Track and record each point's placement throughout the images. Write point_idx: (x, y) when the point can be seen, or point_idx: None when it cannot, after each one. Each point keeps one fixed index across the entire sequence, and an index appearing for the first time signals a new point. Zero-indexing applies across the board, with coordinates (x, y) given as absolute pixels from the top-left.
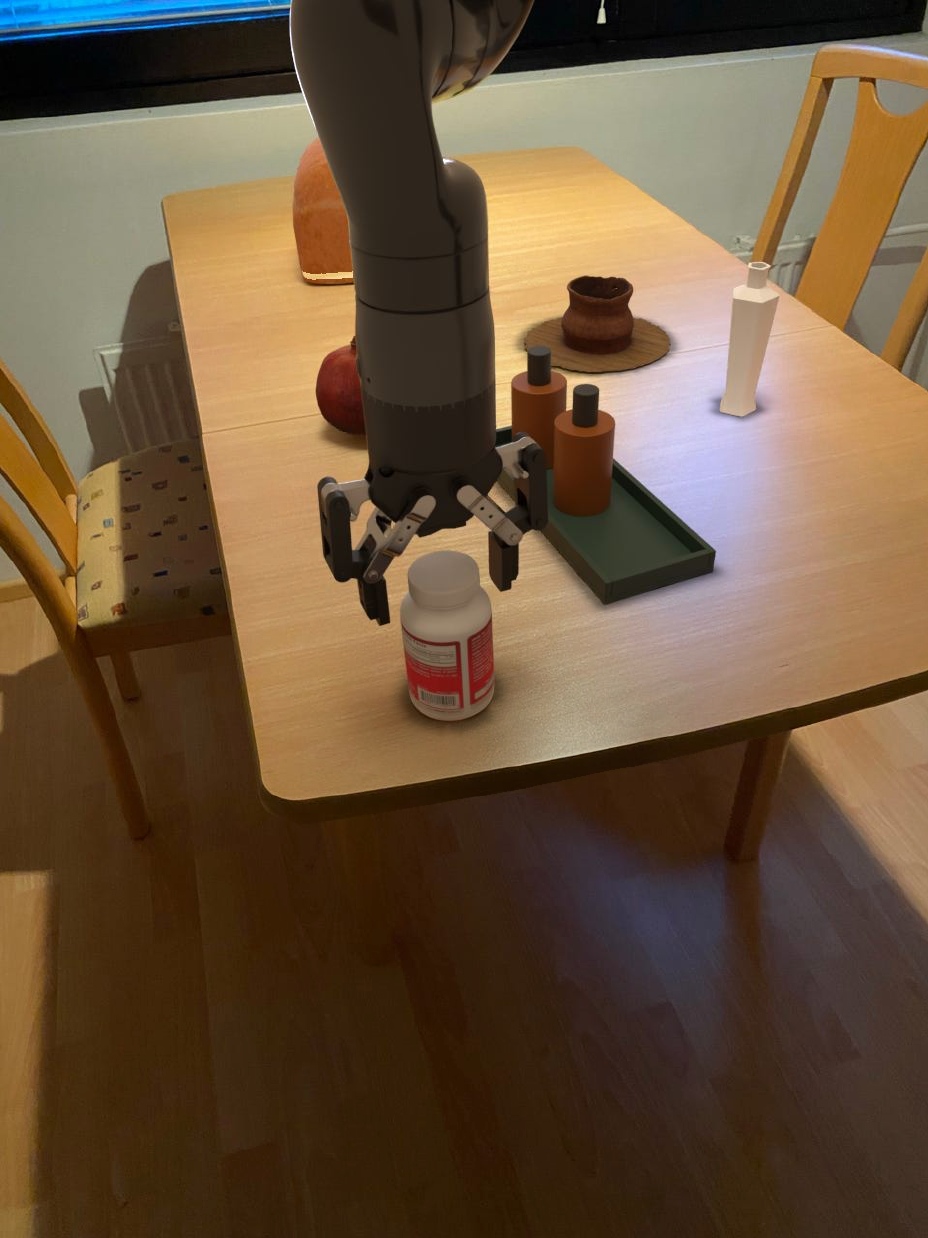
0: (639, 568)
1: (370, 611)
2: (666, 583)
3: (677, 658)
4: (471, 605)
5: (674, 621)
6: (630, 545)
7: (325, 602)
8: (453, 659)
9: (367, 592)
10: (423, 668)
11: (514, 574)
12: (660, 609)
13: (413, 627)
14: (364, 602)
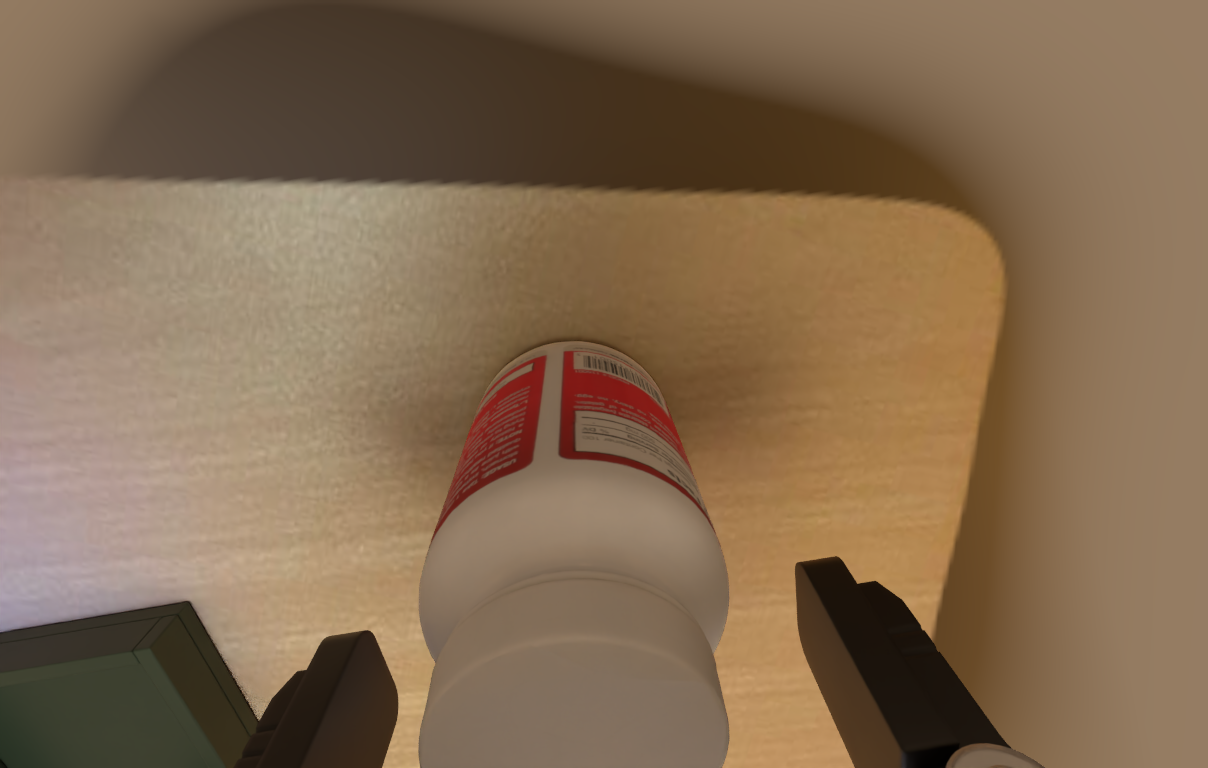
0: (87, 680)
1: (891, 612)
2: (29, 631)
3: (21, 413)
4: (489, 582)
5: (22, 524)
6: (102, 743)
7: (761, 703)
8: (584, 423)
9: (951, 696)
10: (665, 434)
11: (290, 694)
12: (55, 564)
13: (708, 537)
14: (932, 652)
